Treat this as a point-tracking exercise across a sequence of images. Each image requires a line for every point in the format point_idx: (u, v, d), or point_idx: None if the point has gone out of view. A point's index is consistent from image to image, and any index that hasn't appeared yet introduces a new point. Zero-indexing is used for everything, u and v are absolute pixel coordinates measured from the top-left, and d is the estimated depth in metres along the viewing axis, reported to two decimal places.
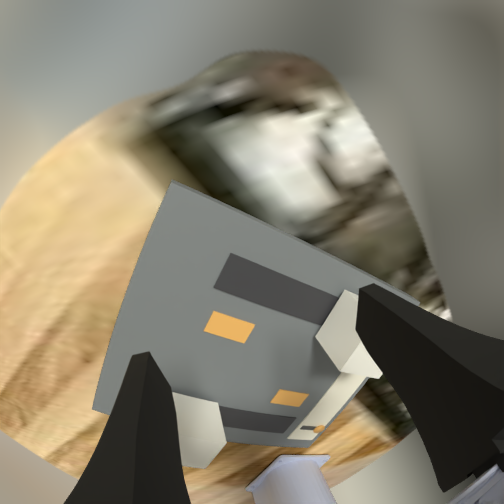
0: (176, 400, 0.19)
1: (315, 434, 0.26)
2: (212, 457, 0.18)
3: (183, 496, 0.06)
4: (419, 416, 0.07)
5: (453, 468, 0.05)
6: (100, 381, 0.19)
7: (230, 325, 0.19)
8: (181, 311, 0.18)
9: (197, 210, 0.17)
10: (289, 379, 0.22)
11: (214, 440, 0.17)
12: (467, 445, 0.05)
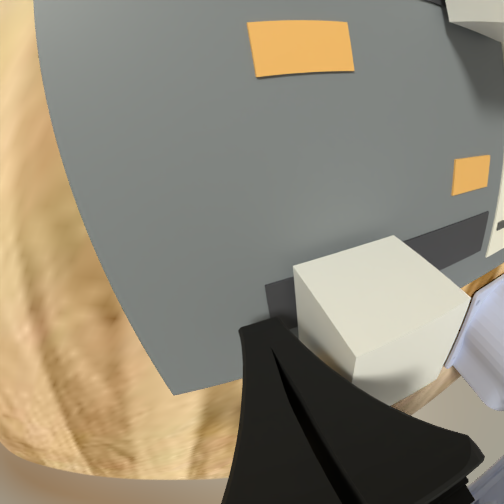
0: (322, 273, 0.09)
1: None
2: (448, 349, 0.08)
3: None
4: None
5: None
6: (142, 339, 0.10)
7: (302, 38, 0.07)
8: (179, 60, 0.06)
9: None
10: (458, 133, 0.09)
11: (450, 308, 0.07)
12: None
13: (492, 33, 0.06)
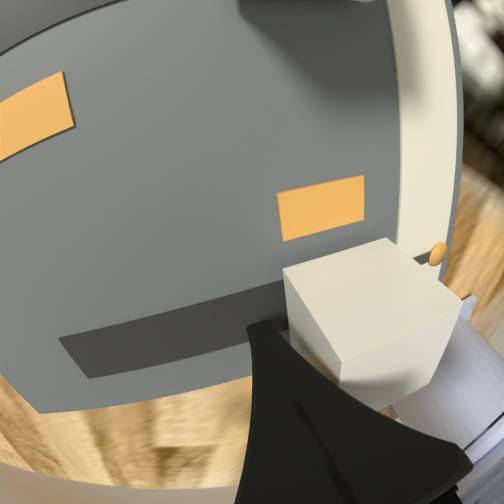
0: (311, 276, 0.09)
1: (437, 268, 0.13)
2: (440, 353, 0.08)
3: None
4: None
5: None
6: None
7: (18, 113, 0.06)
8: None
9: None
10: (278, 155, 0.08)
11: (441, 313, 0.07)
12: None
13: None
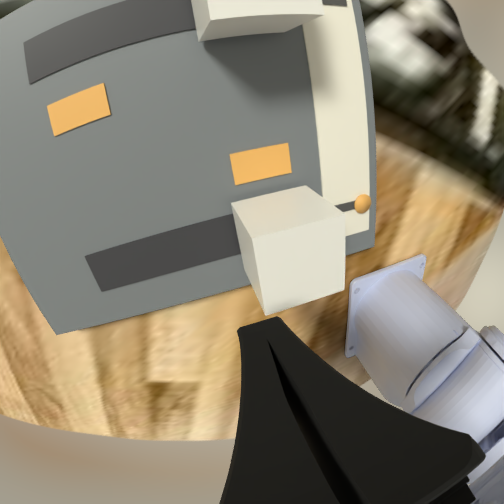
0: (247, 205, 0.14)
1: (366, 216, 0.18)
2: (342, 258, 0.13)
3: None
4: None
5: None
6: (29, 289, 0.14)
7: (75, 105, 0.11)
8: (21, 135, 0.11)
9: None
10: (229, 131, 0.14)
11: (325, 218, 0.12)
12: None
13: (249, 31, 0.10)
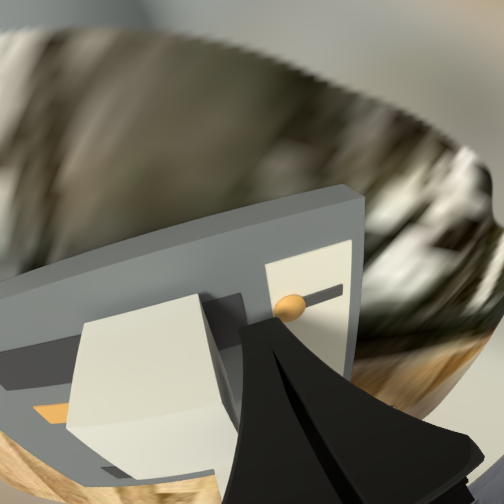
0: None
1: None
2: None
3: None
4: None
5: None
6: (59, 471, 0.15)
7: (59, 412, 0.11)
8: (19, 415, 0.11)
9: None
10: None
11: None
12: None
13: None
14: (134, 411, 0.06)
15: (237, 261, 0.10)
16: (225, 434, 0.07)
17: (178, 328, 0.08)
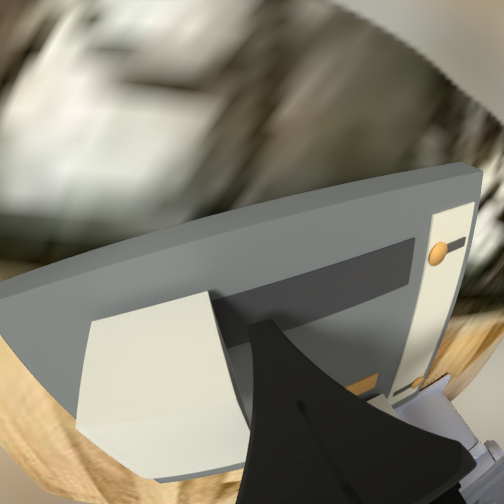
0: None
1: (416, 386, 0.19)
2: None
3: None
4: None
5: None
6: None
7: None
8: None
9: (24, 313, 0.08)
10: (337, 380, 0.15)
11: None
12: None
13: None
14: (146, 410, 0.06)
15: (419, 210, 0.11)
16: (237, 431, 0.07)
17: (189, 325, 0.08)
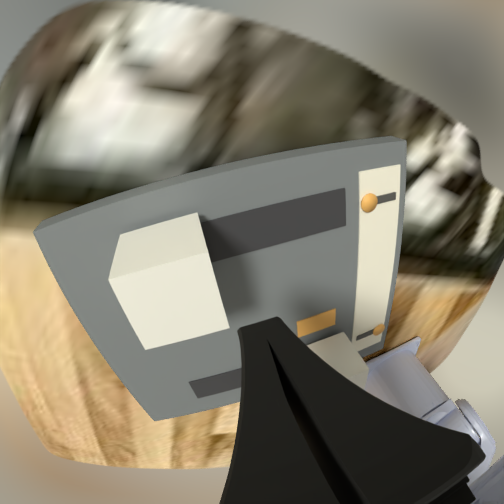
0: None
1: (379, 335, 0.24)
2: (363, 385, 0.20)
3: None
4: None
5: None
6: (137, 399, 0.21)
7: None
8: None
9: (67, 235, 0.14)
10: (298, 308, 0.20)
11: (357, 373, 0.18)
12: None
13: None
14: (155, 262, 0.11)
15: (346, 167, 0.16)
16: (210, 287, 0.12)
17: (184, 227, 0.13)
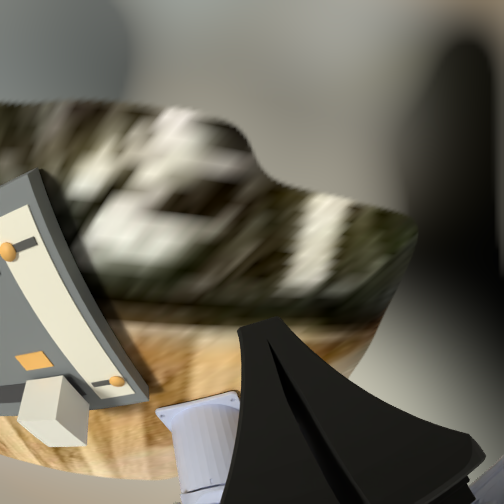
0: (30, 387, 0.16)
1: (127, 387, 0.20)
2: (71, 434, 0.15)
3: None
4: None
5: None
6: None
7: None
8: None
9: None
10: (9, 345, 0.16)
11: (46, 419, 0.14)
12: None
13: None
14: None
15: None
16: None
17: None
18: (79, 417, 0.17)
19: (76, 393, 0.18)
